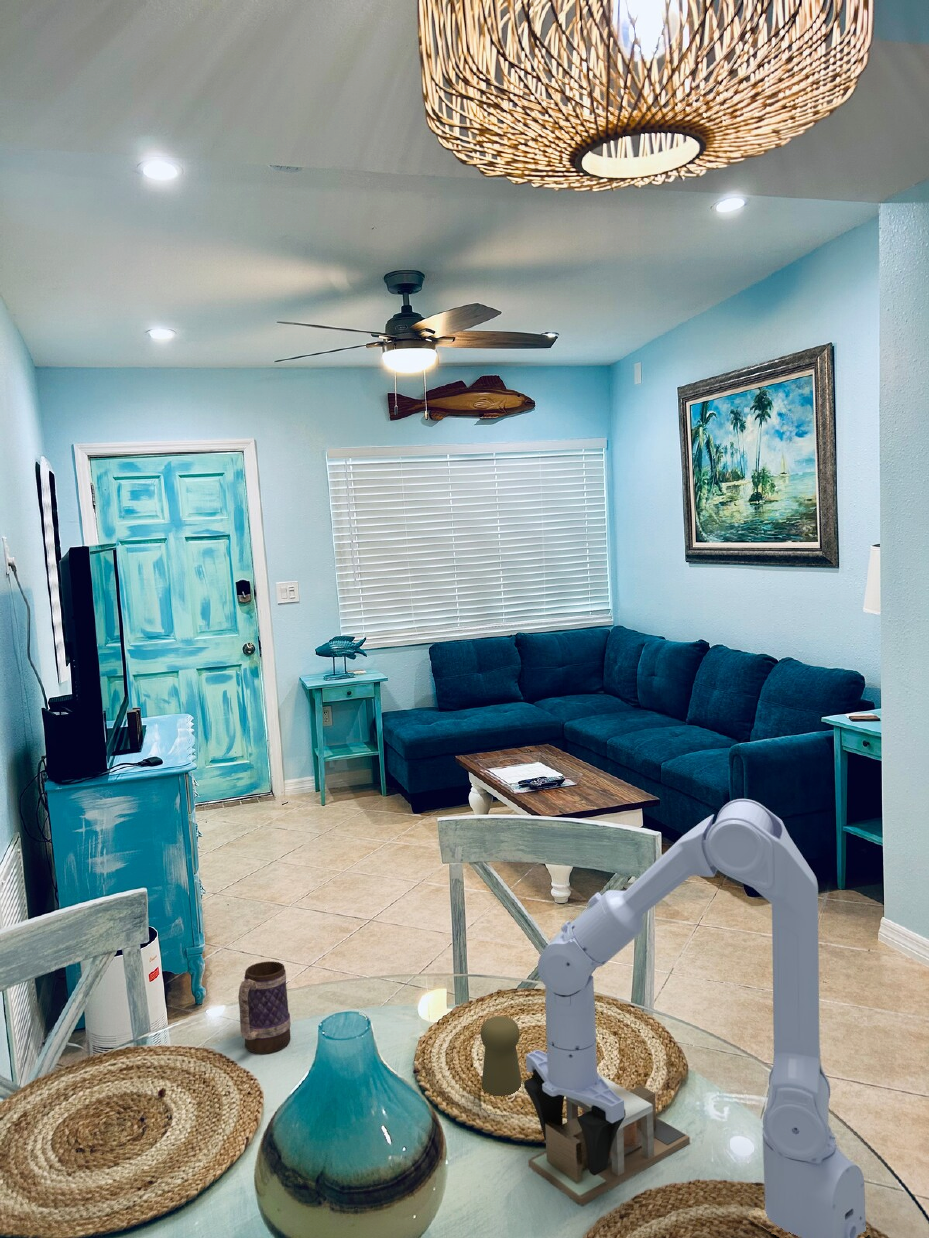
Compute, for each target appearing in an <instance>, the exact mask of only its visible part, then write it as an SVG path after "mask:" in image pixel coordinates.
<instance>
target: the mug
mask: <svg viewBox="0 0 929 1238" xmlns="http://www.w3.org/2000/svg"><path fill="white" fill-rule="evenodd" d="M287 988H288V987H287V972H286V969H285V965H284V963H282V962H279V961H270V960H269V961H260V962H258V963H255V964H252V965H250V966H248V967H247V968H246V969H245V972H244V979H243V981H241V983H240V985H239V989H238V990H239V991H238V996H237V997H238V1006H239V1022H240V1024H239V1025H240V1035H241V1038H242V1039H244V1047H245V1048H246V1050H248V1051H249V1052H251V1053H253V1054H258V1055H264V1054H265V1055H266V1054H271V1053H275V1052H279V1051H281V1050H283V1049H284V1048H286V1046H288V1044H290V1042H291V1040H292V1039H291V1037H292V1036H291V1023H292V1022H291V1014H290V1012H289V1001H288V990H287Z"/></svg>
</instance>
